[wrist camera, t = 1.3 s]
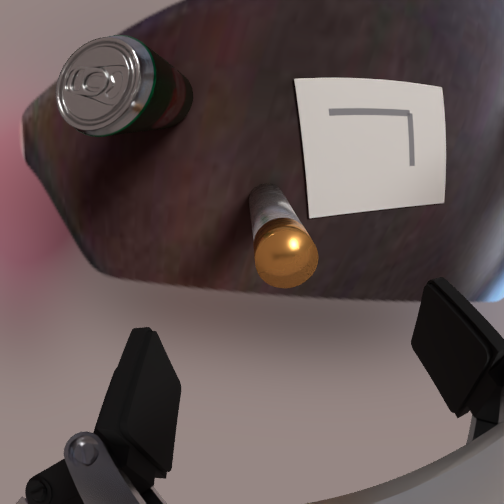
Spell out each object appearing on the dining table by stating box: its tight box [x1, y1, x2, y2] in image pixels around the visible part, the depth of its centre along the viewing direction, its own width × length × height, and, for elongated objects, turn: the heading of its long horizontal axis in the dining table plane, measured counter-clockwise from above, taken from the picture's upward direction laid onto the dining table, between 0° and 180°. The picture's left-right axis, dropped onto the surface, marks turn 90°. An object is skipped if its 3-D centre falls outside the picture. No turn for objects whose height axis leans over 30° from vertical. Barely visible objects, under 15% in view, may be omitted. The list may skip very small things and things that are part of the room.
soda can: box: [56, 35, 193, 137], centre depth 14 cm, size 5×5×12 cm
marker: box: [249, 183, 318, 288], centre depth 19 cm, size 3×3×11 cm
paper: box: [294, 78, 446, 218], centre depth 22 cm, size 15×12×1 cm
